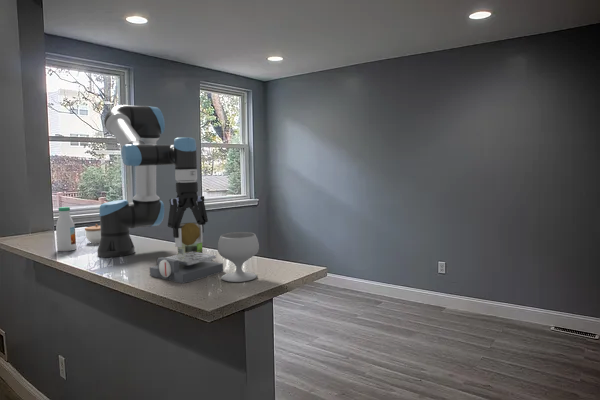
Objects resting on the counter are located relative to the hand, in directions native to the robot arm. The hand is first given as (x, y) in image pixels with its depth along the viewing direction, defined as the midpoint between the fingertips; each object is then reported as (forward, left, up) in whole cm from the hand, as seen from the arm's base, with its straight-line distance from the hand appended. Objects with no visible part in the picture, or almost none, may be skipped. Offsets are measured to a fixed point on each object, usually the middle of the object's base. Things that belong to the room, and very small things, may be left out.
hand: (189, 244), depth 155 cm
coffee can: (-20, +17, -11) cm, 28 cm away
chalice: (+20, +5, -11) cm, 23 cm away
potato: (0, 0, 0) cm, 1 cm away
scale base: (0, -1, -10) cm, 11 cm away
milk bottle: (-82, -4, -11) cm, 83 cm away
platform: (0, 0, -6) cm, 5 cm away
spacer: (-6, +13, -11) cm, 17 cm away
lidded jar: (-88, +14, -11) cm, 90 cm away
